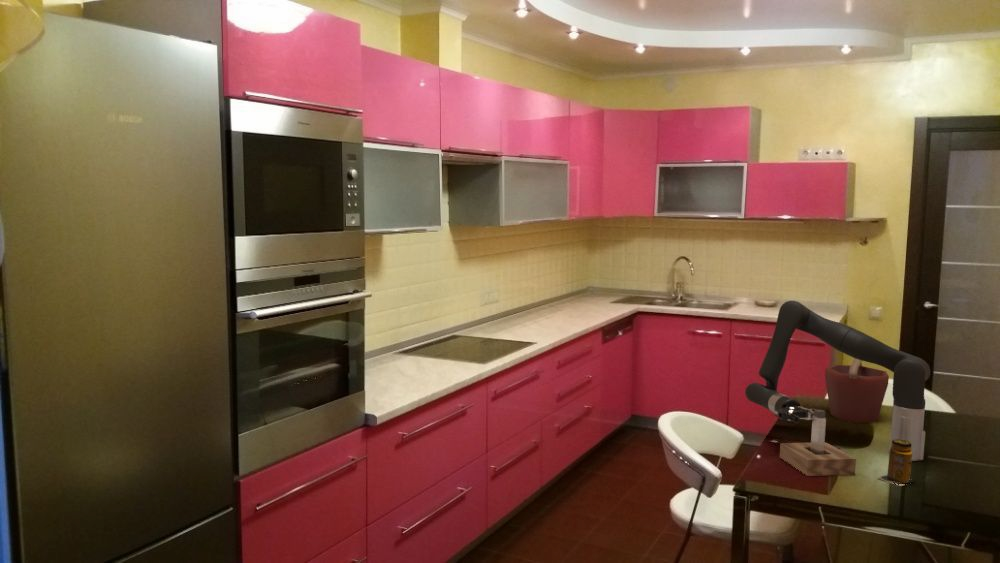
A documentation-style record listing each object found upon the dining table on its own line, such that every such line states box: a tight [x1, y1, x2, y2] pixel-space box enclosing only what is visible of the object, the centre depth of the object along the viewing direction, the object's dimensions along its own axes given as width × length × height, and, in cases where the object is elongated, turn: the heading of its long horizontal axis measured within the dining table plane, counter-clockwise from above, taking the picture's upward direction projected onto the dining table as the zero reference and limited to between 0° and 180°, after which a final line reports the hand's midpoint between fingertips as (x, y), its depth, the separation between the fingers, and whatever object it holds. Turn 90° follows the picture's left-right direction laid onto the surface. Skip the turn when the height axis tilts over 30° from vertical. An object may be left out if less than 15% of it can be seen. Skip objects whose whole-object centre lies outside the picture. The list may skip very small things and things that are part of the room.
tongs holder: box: [779, 442, 857, 477], centre depth 235 cm, size 16×16×5 cm
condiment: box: [877, 439, 913, 487], centre depth 224 cm, size 7×8×12 cm
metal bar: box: [810, 409, 827, 455], centre depth 234 cm, size 3×4×18 cm, turn 12°
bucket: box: [824, 358, 890, 424], centre depth 293 cm, size 24×22×25 cm
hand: (810, 420), depth 238 cm, fingers open, 8 cm apart
